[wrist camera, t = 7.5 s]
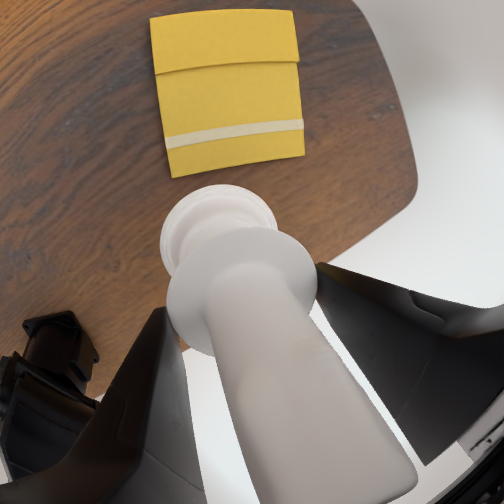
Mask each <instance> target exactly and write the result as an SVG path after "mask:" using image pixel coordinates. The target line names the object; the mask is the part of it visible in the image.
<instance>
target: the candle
mask: <svg viewBox="0 0 504 504" xmlns="http://www.w3.org/2000/svg"><path fill="white" fill-rule="evenodd" d="M160 252H161V257H162V261H163V263H164V266H165V268H166V270H167V271H168V273H169V274H170V276H171V277H172V278H171V280H170V283H169V287H168V291H167V312H168V316H169V318H170V321H171V323H172V326H173V328H174V330H175V332H176V333H177V334H178V336H179V337H180V338H181V339H182V340H183V341H184V342H185V343H186V344H188V345H189V346H190V347H192V348H193V349H195V350H197V351H199V352H201V353H204V354H206V355H210V356H214V357H215V359H216V363H217V366H218V370H219V374H220V378H221V382H222V386H223V389H224V393H225V397H226V401H227V404H228V407H229V411H230V415H231V418H232V422H233V425H234V428H235V431H236V435H237V438H238V441H239V444H240V447H241V451H242V454H243V457H244V460H245V463H246V466H247V469H248V472H249V474H250V478H251V480H252V483H253V486H254V489H255V491H256V494H257V496H258V499H259V501H260V504H387V503H389V502H391V501H393V500H395V499H397V498H399V497H401V496H403V495H405V494H406V493H408V492H410V491H411V490H412V489H413V488H414V487H415V486H416V485H417V483H418V475H417V471H416V469H415V467H414V465H413V463H412V461H411V460H410V458H409V457H408V455H407V454H406V452H405V450H404V449H403V447H402V446H401V444H400V443H399V441H398V440H397V438H396V437H395V435H394V433H393V432H392V431H391V429H390V428H389V426H388V425H387V423H386V422H385V420H384V419H383V418H382V416H381V414H380V413H379V412H378V410H377V409H376V407H375V406H374V405H373V403H372V402H371V400H370V399H369V397H368V395H367V394H366V392H365V391H364V389H363V388H362V387H361V386H360V385H359V383H358V382H357V381H356V379H355V378H354V376H353V375H352V374H351V372H350V371H349V369H348V368H347V367H346V365H345V364H344V363H343V361H342V359H341V358H340V356H339V355H338V354H337V352H336V351H335V350H334V349H333V347H332V346H331V345H330V343H329V342H328V341H327V339H326V338H325V336H324V335H323V334H322V332H321V331H320V330H319V328H318V327H317V326H316V324H315V323H314V321H313V320H312V319H311V317H310V316H309V313H310V311H311V309H312V306H313V304H314V301H315V298H316V293H317V273H316V268H315V265H314V263H313V260H312V258H311V256H310V255H309V253H308V252H307V250H306V249H305V248H304V247H303V246H302V245H301V244H300V243H299V242H298V241H297V240H295V239H294V238H292V237H291V236H289V235H287V234H285V233H283V232H281V231H278V228H277V223H276V220H275V218H274V215H273V213H272V211H271V210H270V208H269V207H268V205H267V204H266V203H265V202H264V201H263V200H262V199H261V198H260V197H258V196H257V195H256V194H254V193H253V192H251V191H249V190H247V189H244V188H242V187H238V186H234V185H212V186H207V187H204V188H201V189H198V190H196V191H194V192H192V193H190V194H189V195H187V196H186V197H184V198H183V199H182V200H180V201H179V202H178V203H177V204H176V205H175V206H174V208H173V209H172V210H171V212H170V213H169V215H168V216H167V218H166V220H165V222H164V225H163V228H162V231H161V236H160Z"/></svg>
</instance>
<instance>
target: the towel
mask: <svg viewBox="0 0 504 504" xmlns="http://www.w3.org/2000/svg"><path fill="white" fill-rule="evenodd" d="M150 30H151V41H152V51H153V61H154V69H155V76H156V84H157V92H158V99H159V106H160V113H161V119H162V125H163V132H164V138H165V144H166V149H167V155H168V160H169V166H170V171H171V176H172V178H177V177H181V176H186V175H190V174H195V173H200V172H205V171H210V170H215V169H220V168H226V167H231V166H237V165H243V164H249V163H255V162H262V161H268V160H275V159H282V158H290V157H298V156H305V147H304V133H303V129H304V123H303V119H302V110H301V99H300V90H299V80H298V72H297V63H296V62H299V54H298V47H297V40H296V33H295V26H294V19H293V13H292V11H285V10H268V9H227V10H210V11H198V12H189V13H181V14H174V15H168V16H162V17H156V18H151V19H150Z"/></svg>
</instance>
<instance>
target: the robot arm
mask: <svg viewBox="0 0 504 504" xmlns="http://www.w3.org/2000/svg"><path fill="white" fill-rule="evenodd" d="M314 265H315V268H316V273H317V293H316V300H317V302H318V303H319V305H320V307H321V309H322V311H323V313H324V315H325V317H326V318H327V320H328V322H329V324H330V326H331V327H332V329H333V330H334V332H335V333H336V334H337V336H338V337H339V339H340V340H341V342H342V343H343V344H344V346H345V347H346V349H347V350H348V352H349V353H350V355H351V356H352V358H353V359H354V360H355V362H356V363H357V365H358V366H359V368H360V369H361V371H362V372H363V374H364V375H365V377H366V378H367V380H368V381H369V382H370V384H371V385H372V387H373V388H374V390H375V391H376V393H377V394H378V396H379V397H380V398H381V400H382V402H383V403H384V405H385V406H386V408H387V409H388V411H389V412H390V414H391V415H392V417H393V418H394V419H395V421H396V423H397V425H398V426H399V428H400V429H401V431H402V432H403V433H404V435H405V437H406V438H407V440H408V441H409V443H410V444H411V446H412V448H413V449H414V451H415V452H416V454H417V455H418V457H419V458H420V460H421V462H422V463H423V464H424V466H427V465H428V464H429V463H430V462H432V461H433V460H434V459H436V458H437V457H438V456H440V455H441V454H442V453H443V452H444V451H446V450H447V449H448V448H449V447H450V446H452V445H453V444H454V443H455V442H456V441H457V442H458V443H459V444H460V446H461V447H462V448H463V450H464V451H465V452H466V453H467V455H468V456H469V457H471V459H472V460H473V461H474V464H473V465H472V466H471V467H470V468H468V469H467V470H466V471H465V472H464V473H463V474H462V475H461V476H460V477H459V478H458V479H457V480H455V481H454V482H453V483H452V484H451V485H450V486H448V487H447V488H446V489H445V490H443V491H442V492H441V493H440V494H438V495H437V496H436V497H435V498H433V499H432V500H431V501H429V502H428V503H427V504H504V304H503V305H500V306H497V307H493V308H485V309H484V308H476V307H472V306H468V305H464V304H460V303H456V302H451V301H447V300H443V299H439V298H435V297H432V296H428V295H425V294H422V293H419V292H416V291H412V290H410V291H409V290H408V289H406V288H403V287H400V286H397V285H394V284H390V283H387V282H384V281H381V280H378V279H374V278H371V277H368V276H365V275H362V274H359V273H355V272H352V271H349V270H346V269H342V268H339V267H336V266H333V265H330V264H327V263H323V262H320V263H317V264H314ZM68 316H70V317H71V318H69V317H68ZM22 326H23V328H24V330H25V331H26V333H27V334H28V336H29V340H28V343H27V345H26V348H25V351H24V353H23V356H22V357H21V356H20V354H19V353H17V352H16V351H14V353H13V355H12V356H9V357H6V356H2V358H1V361H0V457H1V460H2V463H3V466H4V469H5V471H6V474H7V477H8V483H6V484H1V485H0V504H207V500H206V495H205V493H204V492H205V491H204V486H203V481H202V476H201V471H200V466H199V461H198V455H197V449H196V443H195V437H194V431H193V424H192V417H191V410H190V402H189V394H188V386H187V377H186V370H185V366H184V361H183V358H182V352H181V348H180V343H179V339H178V334H177V333H176V332H175V330H174V328H173V326H172V323H171V321H170V318H169V316H168V312H167V306H163V307H159V308H156V309H154V310H153V312H152V314H151V315H150V317H149V319H148V320H147V322H146V324H145V325H144V327H143V329H142V330H141V332H140V334H139V335H138V337H137V339H136V340H135V342H134V344H133V346H132V347H131V349H130V351H129V352H128V354H127V356H126V358H125V359H124V361H123V363H122V365H121V366H120V368H119V370H118V372H117V373H116V375H115V377H114V379H113V381H112V382H111V385H112V386H111V385H110V386H109V388H108V390H107V391H106V393H105V395H104V397H103V399H102V400H101V402H99V401H97V400H95V399H91V398H89V397H87V396H85V394H86V386H87V382H90V380H91V375H92V368H93V364H94V363H98V362H99V356H98V354H97V353H96V351H95V348H94V346H93V345H92V343H91V341H90V340H89V338H88V336H87V335H86V333H85V331H83V330H82V328H81V326H80V324H79V323H78V321H77V319H76V317H75V315H74V314H73V313H72V312H70V311H66V312H62V313H57V314H53V315H48V316H43V317H39V318H34V319H30V320H25V321H24V322H23V324H22ZM94 358H95V359H94Z"/></svg>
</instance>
